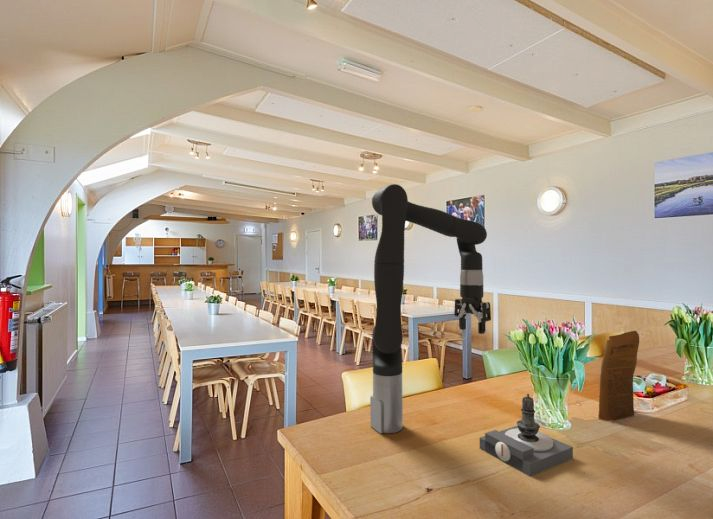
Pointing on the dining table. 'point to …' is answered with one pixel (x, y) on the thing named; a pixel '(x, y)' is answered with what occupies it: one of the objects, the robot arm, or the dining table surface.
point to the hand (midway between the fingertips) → (471, 331)
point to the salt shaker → (528, 421)
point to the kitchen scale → (525, 450)
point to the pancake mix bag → (618, 376)
